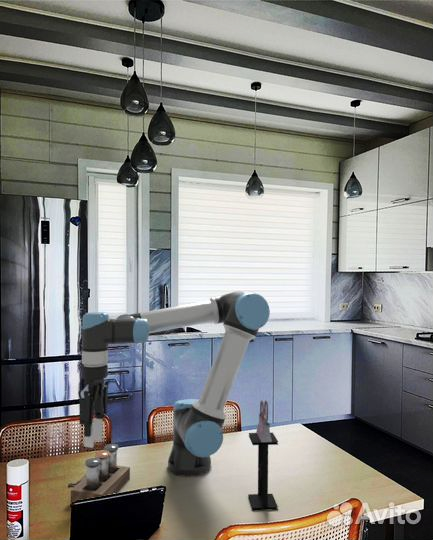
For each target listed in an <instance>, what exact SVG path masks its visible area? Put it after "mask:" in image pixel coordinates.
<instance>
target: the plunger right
mask: <svg viewBox="0 0 433 540" xmlns="http://www.w3.org/2000/svg"><path fill="white" fill-rule="evenodd" d="M118 450H119V445H118V444H116V443H108V444H105V445H104V446H103V451H109V452H110V456H109V457H108V473H110V474H111V473H115V472H116V471H117V466H118V465H117V464H118V462H117V461H118Z"/></svg>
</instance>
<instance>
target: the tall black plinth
mask: <svg viewBox="0 0 433 540" xmlns="http://www.w3.org/2000/svg"><path fill="white" fill-rule="evenodd" d="M268 420H269V403H268V400H267V399H266V400H260V405H259V413H258V424H257V427H256V432H248V438H249V439H250V442H251V444H252V446H257V447H258V450H257V493H252V494H251V493H250V494H249V493H248V494H247V496H248V497H247V498H248V501H249V505H250V508H251V510H252V512H253V511H278V510H279V509H278V508H279V506H278V503H277V502H276V499H275V497H274V495H273V493H269V446H272V445H273V446H276V445H277V446H278V445H279V441H278V439H277V437H276V435H275V434H274V432H271V431H270V429H271V428H270V427H271V425H270V423H269V422H268Z"/></svg>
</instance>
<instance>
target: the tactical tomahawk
mask: <svg viewBox="0 0 433 540" xmlns="http://www.w3.org/2000/svg"><path fill="white" fill-rule="evenodd" d="M86 475H87V472H86V473H85V474H84V475H83V476H82V477H81V478H79V479H78V480H77V481H76V482H75V483H71V482H70V483H68V485H67V486H68V488H72V489H73V488H74V487H75V486H76V485H77V484H79V483H80V482H81V481H82V480H83V479H85V478H86Z"/></svg>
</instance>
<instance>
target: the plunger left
mask: <svg viewBox="0 0 433 540" xmlns="http://www.w3.org/2000/svg"><path fill="white" fill-rule="evenodd" d="M84 464H85V466H86V473H87V475H86V489H87V490H91V491H93V490H96V489H98V488H99V465H100V464H101V459H99V458H95V457H90V458H87V459H86V460H85V462H84Z"/></svg>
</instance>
